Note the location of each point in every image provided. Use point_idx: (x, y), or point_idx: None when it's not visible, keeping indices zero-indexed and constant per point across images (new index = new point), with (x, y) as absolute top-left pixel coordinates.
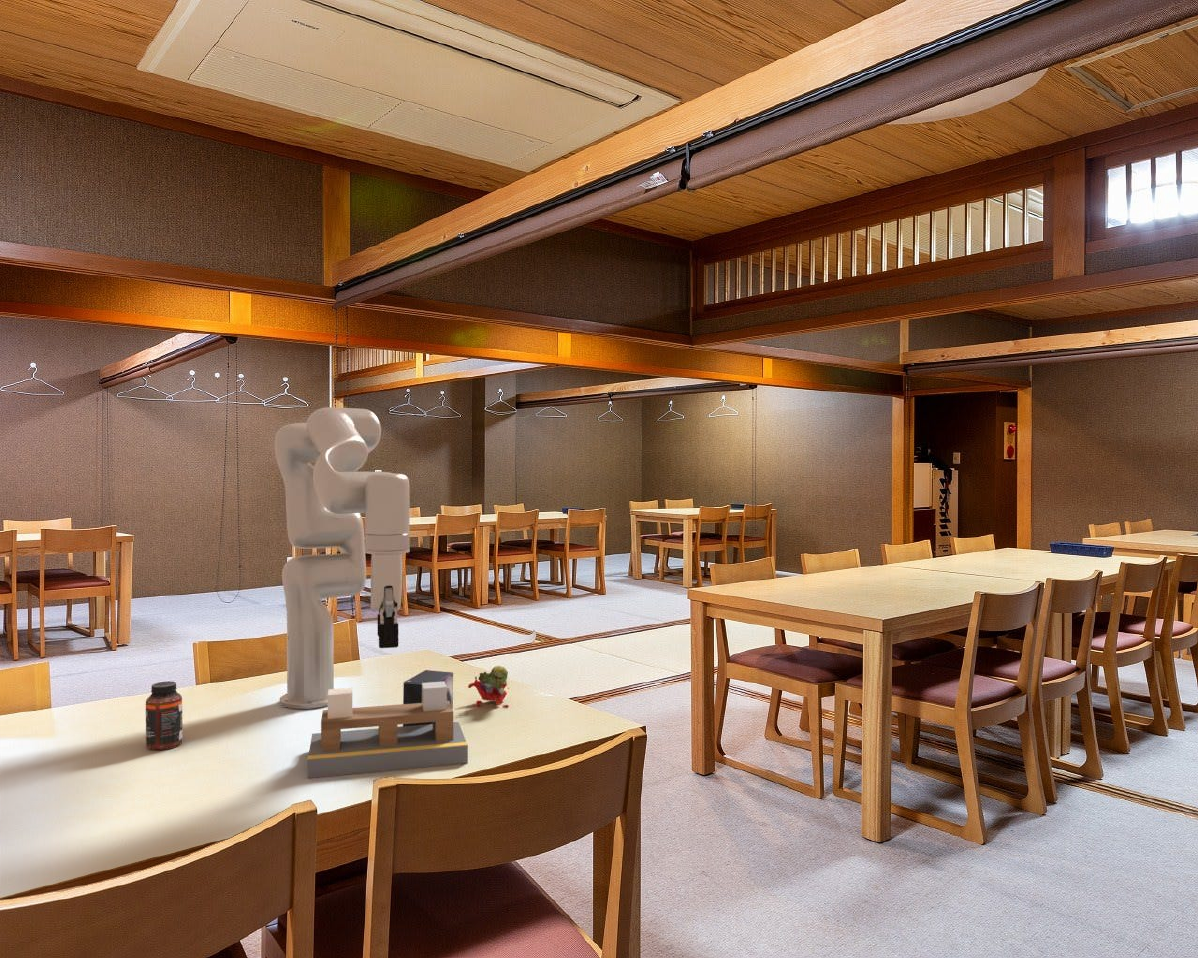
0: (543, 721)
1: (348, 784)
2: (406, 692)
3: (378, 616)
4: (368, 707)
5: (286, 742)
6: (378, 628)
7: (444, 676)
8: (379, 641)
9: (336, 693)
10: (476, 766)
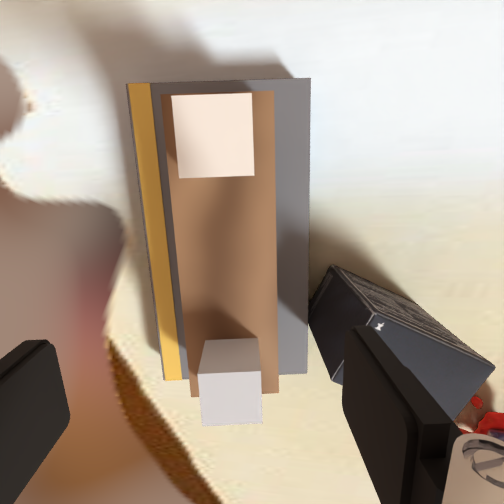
0: (346, 479)
1: (98, 173)
2: (358, 308)
3: (406, 418)
4: (270, 215)
5: (375, 21)
6: (363, 354)
7: None
8: (5, 360)
9: (191, 125)
10: (153, 372)
